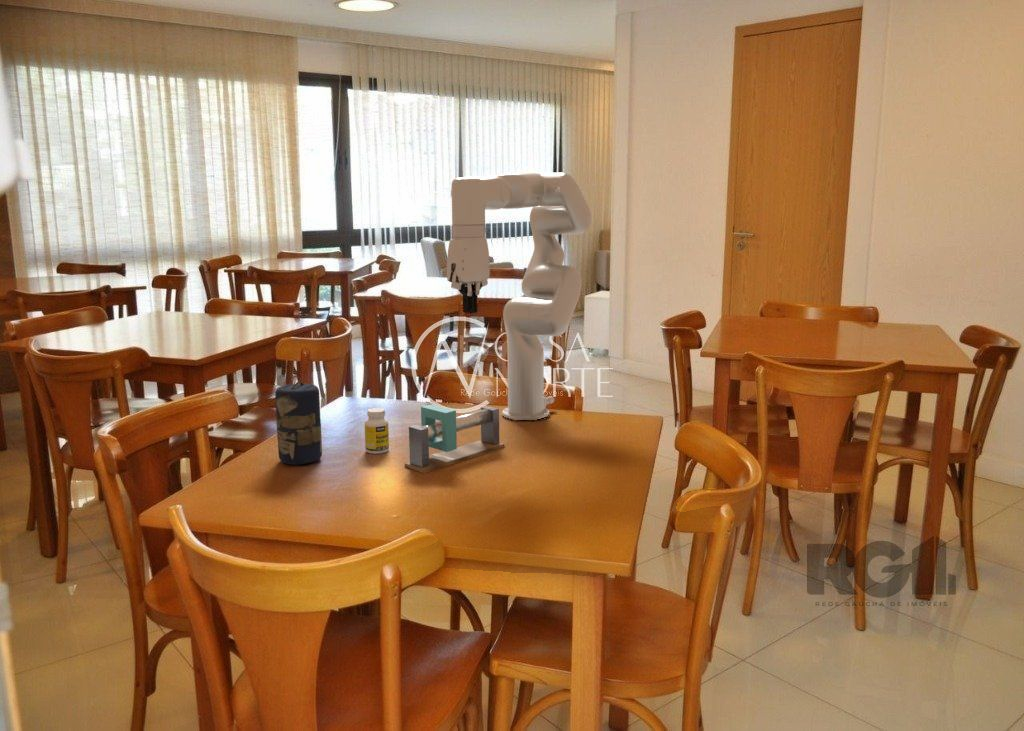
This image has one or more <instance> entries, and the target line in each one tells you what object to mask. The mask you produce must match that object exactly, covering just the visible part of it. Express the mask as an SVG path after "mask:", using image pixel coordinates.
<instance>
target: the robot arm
mask: <svg viewBox="0 0 1024 731" xmlns="http://www.w3.org/2000/svg"><path fill="white" fill-rule="evenodd" d="M450 197H451V226H452V229H451V230H452V231H451V232H452V233H451V234H452V239H451V238H450V239H449V243H448V249H447V258H446V259H447V260H446V279H447V280H446V281H448V282H449V283H451V284H450V287H451V289H453V290H458V291H459V293H460V294H459V295H460V296H461V297H462V312H463V313H466V314H475V313H478V296H479V295H480V292H481V290H482V288H483V287H486V286H487V285H488V279H490V276H491V272H490V271H491V264H490V251H489V245H488V238H487V237H486V232H487V230H488V228H487V227H486V210H489V211H491V210H493V211H494V210H502V209H503V210H504V209H505V210H506V209H507V210H510V209H512V210H514V209H523V208H524V209H525V208H532V209H530V214H529V223H530V228H531V229H530V230H531V234H532V235H531V236H532V238H533V244H534V248H533V249H534V250H533V252H532V255H531V258H530V260H529V263H528V266H527V267H526V270H525V273H524V275H523V278H522V281H521V292H522V293H523V295H524V296H518V297H513V298H511V299H510V300H508V301H507V302H506V304H505V305H504V308H503V311H502V312H503V313H502V316H503V323H504V324H503V325H504V329H505V333H506V334H505V335H506V343H507V345H506V346H507V347H506V348H507V407H505V408H504V409H503V410H501V411H502V412H501V414H502V415H503V416H504V417H503V416H502V417H503V418H505V417H506V418H505V419H507V418H509V419H508V420H510V419H514V420H513V421H516V420H535V421H538V420H537V419H541V418H543V417H546V416H547V415H548V414H549V415H550V410H549V409H548V408H547V407H546V406H547V405H550V404H553V403H554V402H555V397H554V396H553V395H551V396H550V395H549V396H547V397H546V396H544V390H545V388H544V385H545V384H544V382H545V380H544V376H545V375H544V369H545V368H544V366H545V364H544V359H545V354H544V353H545V352H544V348H543V344H542V343H541V342H542V341H541V340H540V339H539V336H545V337H546V336H548V337H560V336H562V335H563V334H564V333H566V332H567V330H568V327H569V325H570V323H571V320H572V317H573V314H574V312H575V309H576V306H577V304H578V300H580V299H579V298H580V295H581V292H582V283H583V282H582V275H581V273H580V271H579V270H578V269H577V268H575V267H574V266H571V265H566V264H565V265H564V264H563V263H564V261H565V257H566V256H565V251H564V249H563V247H562V245H561V243H560V242H559V241H558V239H557V237H556V235H582V234H585V233H586V232H588V230H589V229H590V227H591V223H592V213H591V209H590V207H589V204H588V202H587V200H586V197H585V196H584V194H583V192H582V190H581V188H580V186H579V184H578V183H577V182H576V180H575V179H574V177H572V176H571V175H570V174H569V173H566V172H530V173H529V172H528V173H527V172H526V173H524V172H523V173H521V172H520V173H506V174H498V175H497V174H496V175H489V176H488V175H485V176H463V177H461V176H460V177H456V178H454V179H452V182H451V189H450ZM541 420H542V419H541Z"/></svg>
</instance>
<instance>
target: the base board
mask: <svg viewBox="0 0 1024 731" xmlns="http://www.w3.org/2000/svg"><path fill="white" fill-rule="evenodd" d="M503 448H506V447H505V443H502V442H500V441H499V444H496V445H491V444H487V443H483V442H481V439H480V440H476V441H474V442H469V443H466V444H464V445H461V446H457V449H455V450H452V451H448V452H445V451H441V452H438V453H436V452H435V453H433V454H431V455H430V454H429V466H427V467H424V468H421V467H418V466H415V465H412V464H410V461H408V462H407V461H406V462H404V467H405V468H407V469H409V470H414V471H417V472H419V473H422V474H427V473H429V472H432V471H435V470H438V469H441V468H445V467H447V466H451V465H454V464H457V463H461V462H463V461H466V460H469V459H474V458H475V457H479V456H482V455H485V454H487V453H490V452H495V451H497V450H499V449H503Z"/></svg>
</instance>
